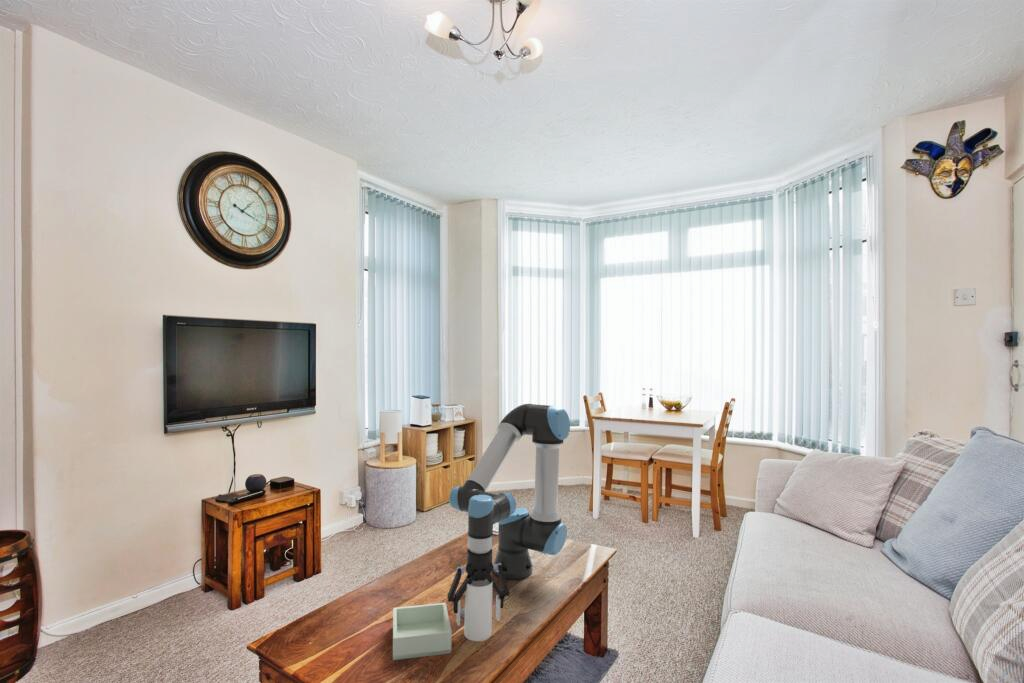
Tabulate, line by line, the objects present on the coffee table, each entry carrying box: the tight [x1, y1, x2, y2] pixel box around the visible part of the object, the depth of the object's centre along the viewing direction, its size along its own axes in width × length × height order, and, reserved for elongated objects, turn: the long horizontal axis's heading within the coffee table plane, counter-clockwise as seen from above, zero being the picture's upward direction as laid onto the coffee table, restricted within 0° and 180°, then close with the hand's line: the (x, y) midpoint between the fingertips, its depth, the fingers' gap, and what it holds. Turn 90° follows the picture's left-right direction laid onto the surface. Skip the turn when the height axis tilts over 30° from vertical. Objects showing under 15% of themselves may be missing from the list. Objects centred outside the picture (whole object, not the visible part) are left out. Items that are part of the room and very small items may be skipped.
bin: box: [392, 602, 453, 661], centre depth 145 cm, size 16×16×6 cm
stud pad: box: [460, 606, 465, 620], centre depth 160 cm, size 8×8×1 cm
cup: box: [463, 579, 494, 642], centre depth 149 cm, size 8×8×16 cm
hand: (478, 620), depth 149 cm, fingers open, 11 cm apart
